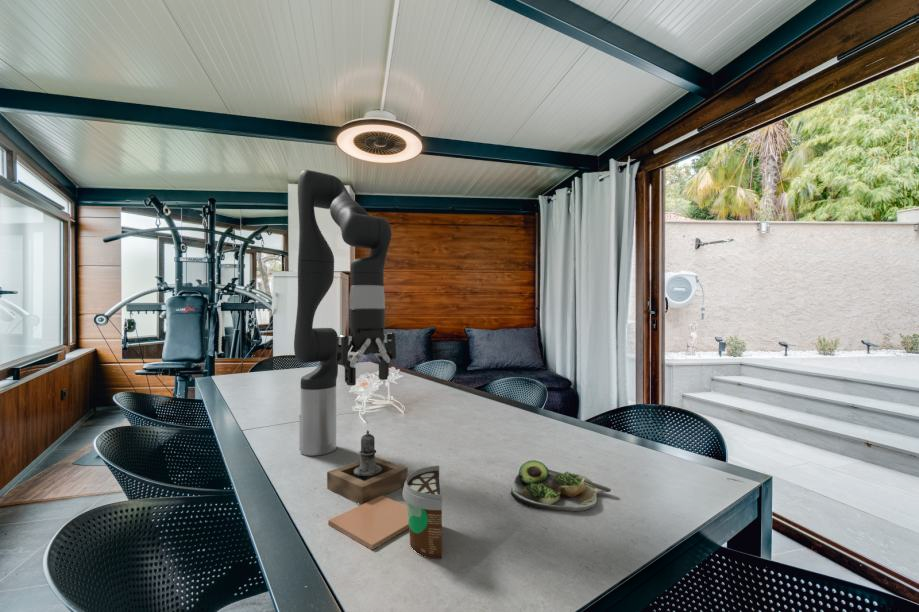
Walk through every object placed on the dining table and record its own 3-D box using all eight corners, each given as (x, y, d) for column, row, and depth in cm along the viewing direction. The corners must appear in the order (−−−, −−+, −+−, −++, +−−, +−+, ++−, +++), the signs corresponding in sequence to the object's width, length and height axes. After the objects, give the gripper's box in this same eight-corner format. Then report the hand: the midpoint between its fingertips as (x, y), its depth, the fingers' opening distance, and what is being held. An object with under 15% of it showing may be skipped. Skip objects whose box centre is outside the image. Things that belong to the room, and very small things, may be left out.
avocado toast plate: (608, 482, 86) (608, 461, 87) (614, 523, 69) (614, 496, 70) (520, 472, 92) (520, 452, 92) (506, 507, 75) (506, 483, 75)
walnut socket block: (327, 488, 83) (327, 471, 83) (372, 470, 93) (372, 455, 93) (362, 505, 76) (362, 487, 76) (407, 484, 85) (407, 468, 85)
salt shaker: (375, 493, 81) (374, 435, 81) (348, 491, 82) (348, 433, 82) (386, 481, 87) (385, 427, 87) (361, 479, 88) (361, 425, 88)
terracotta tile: (328, 524, 69) (328, 520, 69) (381, 499, 78) (381, 495, 78) (372, 550, 61) (372, 545, 61) (425, 518, 71) (425, 514, 71)
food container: (404, 522, 70) (404, 465, 70) (439, 520, 70) (439, 464, 70) (400, 567, 57) (399, 498, 57) (442, 564, 58) (441, 496, 58)
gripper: (381, 307, 93) (382, 376, 93) (328, 307, 82) (328, 385, 82) (403, 307, 88) (404, 379, 88) (349, 306, 77) (350, 389, 77)
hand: (367, 382), depth 85 cm, fingers open, 8 cm apart
